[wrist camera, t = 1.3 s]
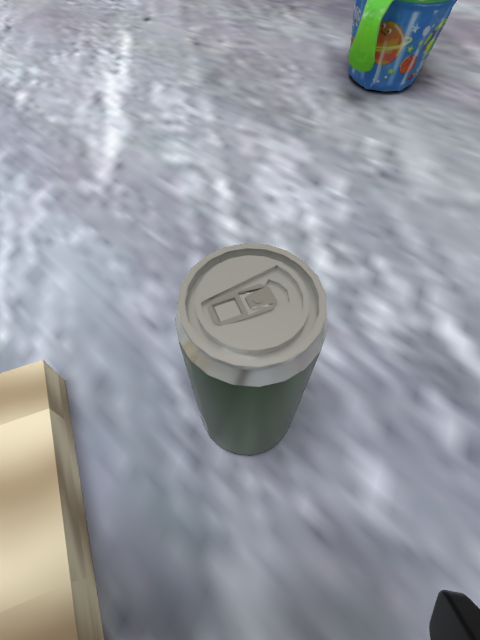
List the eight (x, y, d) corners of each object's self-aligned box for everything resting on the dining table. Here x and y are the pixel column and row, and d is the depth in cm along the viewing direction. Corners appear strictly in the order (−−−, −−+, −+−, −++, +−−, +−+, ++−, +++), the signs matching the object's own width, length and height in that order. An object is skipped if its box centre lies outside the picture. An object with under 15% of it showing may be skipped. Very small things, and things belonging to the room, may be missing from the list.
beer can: (220, 473, 21) (202, 401, 10) (190, 388, 23) (151, 264, 13) (306, 436, 22) (366, 337, 12) (268, 358, 24) (289, 222, 14)
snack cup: (378, 41, 48) (408, -71, 39) (454, 69, 44) (506, -48, 35) (302, 87, 42) (318, -33, 33) (382, 124, 38) (424, 0, 30)
